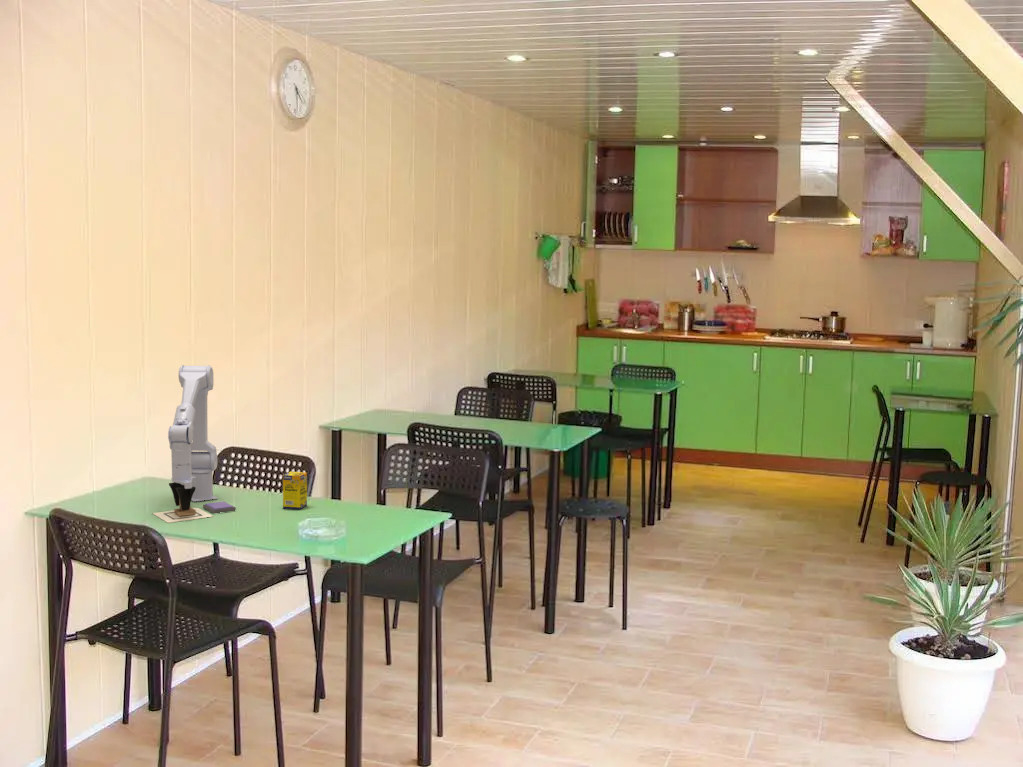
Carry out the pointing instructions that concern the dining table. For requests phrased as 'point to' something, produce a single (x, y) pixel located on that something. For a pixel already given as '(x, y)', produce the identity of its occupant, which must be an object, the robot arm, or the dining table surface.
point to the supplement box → (295, 490)
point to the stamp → (184, 511)
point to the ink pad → (219, 507)
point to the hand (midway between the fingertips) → (182, 507)
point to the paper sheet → (172, 517)
